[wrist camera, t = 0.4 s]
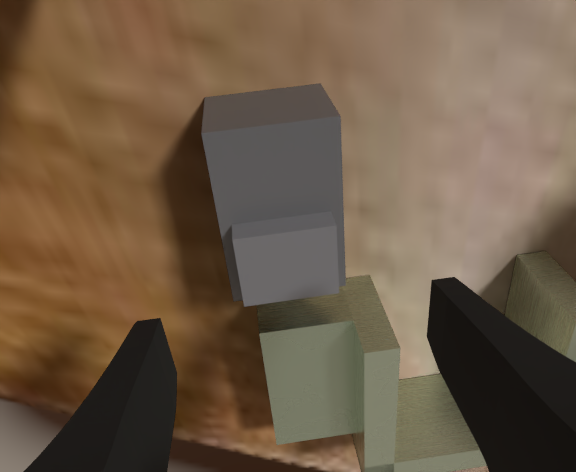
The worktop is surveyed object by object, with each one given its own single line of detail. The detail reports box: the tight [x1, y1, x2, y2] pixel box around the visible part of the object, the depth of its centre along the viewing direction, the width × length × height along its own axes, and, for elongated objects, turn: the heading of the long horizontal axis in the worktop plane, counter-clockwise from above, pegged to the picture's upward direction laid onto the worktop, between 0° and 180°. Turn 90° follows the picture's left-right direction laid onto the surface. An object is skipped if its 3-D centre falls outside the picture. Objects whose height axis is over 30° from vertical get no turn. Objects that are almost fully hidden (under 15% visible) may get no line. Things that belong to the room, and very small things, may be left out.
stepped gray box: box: [201, 84, 346, 307], centre depth 19 cm, size 4×7×5 cm, turn 5°
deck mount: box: [257, 251, 576, 472], centre depth 25 cm, size 15×10×5 cm, turn 95°
